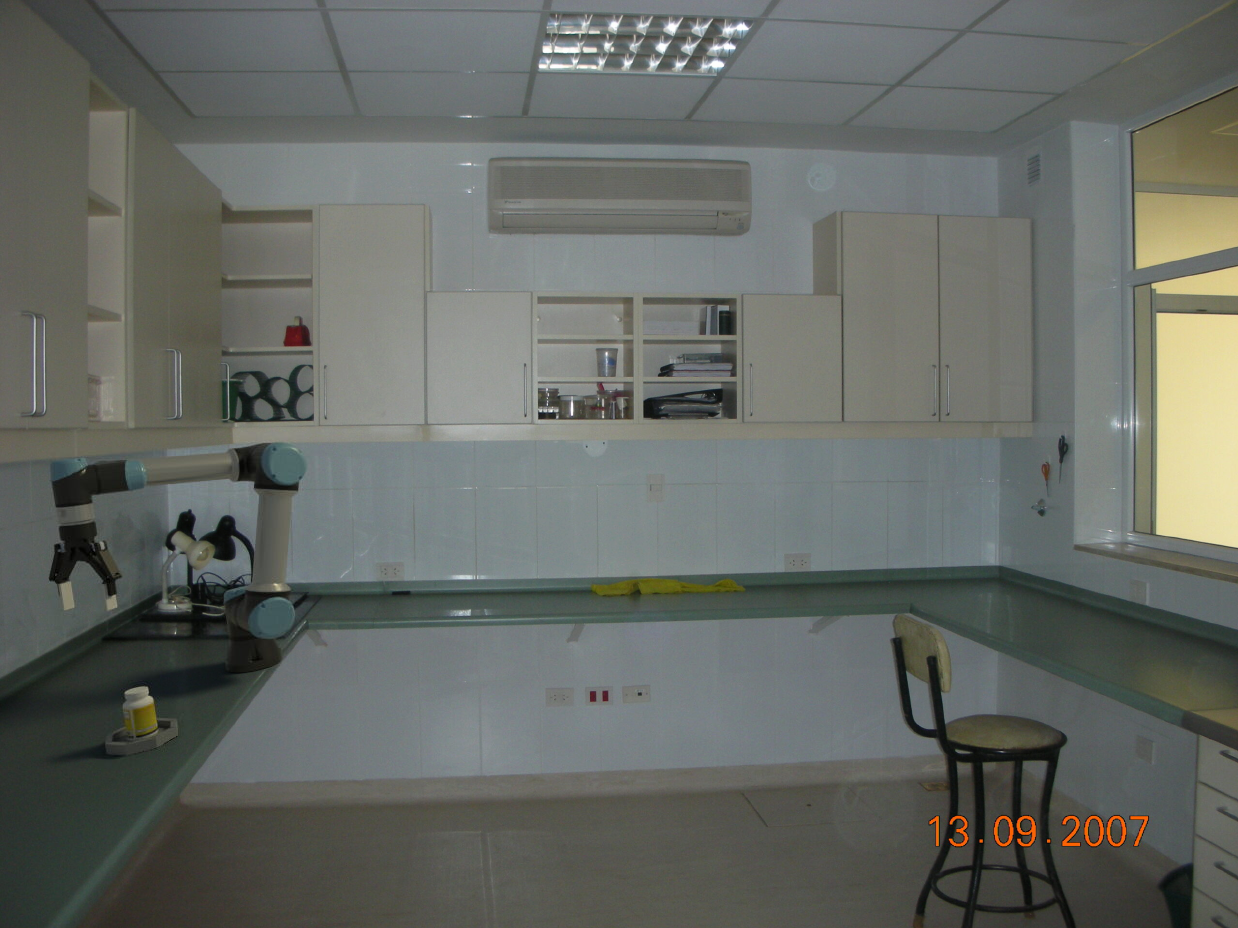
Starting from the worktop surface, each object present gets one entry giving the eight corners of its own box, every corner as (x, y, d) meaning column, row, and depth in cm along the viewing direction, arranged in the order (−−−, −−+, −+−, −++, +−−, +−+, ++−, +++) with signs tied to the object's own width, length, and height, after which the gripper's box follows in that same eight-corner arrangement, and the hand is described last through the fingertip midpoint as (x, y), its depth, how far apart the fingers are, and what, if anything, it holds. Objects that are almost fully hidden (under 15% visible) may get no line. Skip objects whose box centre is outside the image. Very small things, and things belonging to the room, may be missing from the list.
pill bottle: (163, 729, 190) (157, 683, 189) (149, 740, 184) (142, 693, 183) (136, 731, 190) (130, 686, 189) (121, 743, 184) (114, 696, 183)
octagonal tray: (144, 726, 196) (143, 717, 195) (191, 729, 191) (190, 719, 191) (92, 753, 182) (90, 742, 182) (141, 756, 178) (140, 745, 178)
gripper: (22, 527, 195) (36, 613, 198) (103, 523, 188) (116, 613, 190) (52, 521, 203) (65, 604, 205) (130, 518, 195) (143, 604, 197)
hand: (89, 609), depth 197 cm, fingers open, 13 cm apart
